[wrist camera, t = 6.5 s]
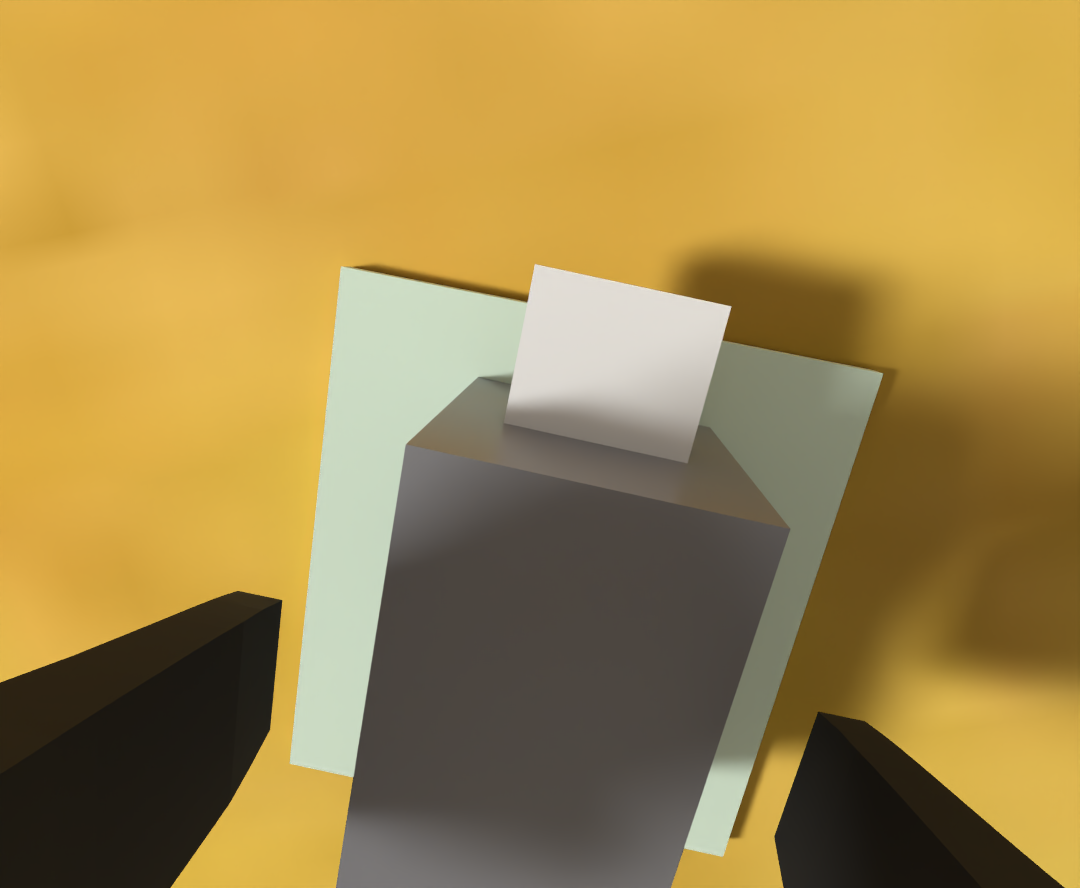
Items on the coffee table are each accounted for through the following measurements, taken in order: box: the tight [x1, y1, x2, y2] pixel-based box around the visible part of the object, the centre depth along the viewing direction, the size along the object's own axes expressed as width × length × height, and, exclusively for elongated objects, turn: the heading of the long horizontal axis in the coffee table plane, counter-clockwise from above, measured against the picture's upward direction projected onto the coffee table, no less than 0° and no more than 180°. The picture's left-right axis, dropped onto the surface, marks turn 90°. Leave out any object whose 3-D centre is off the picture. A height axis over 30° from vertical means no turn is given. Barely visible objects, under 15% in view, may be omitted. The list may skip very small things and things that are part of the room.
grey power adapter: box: [336, 264, 790, 888], centre depth 10 cm, size 12×4×4 cm, turn 168°
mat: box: [290, 267, 883, 857], centre depth 12 cm, size 10×9×1 cm
